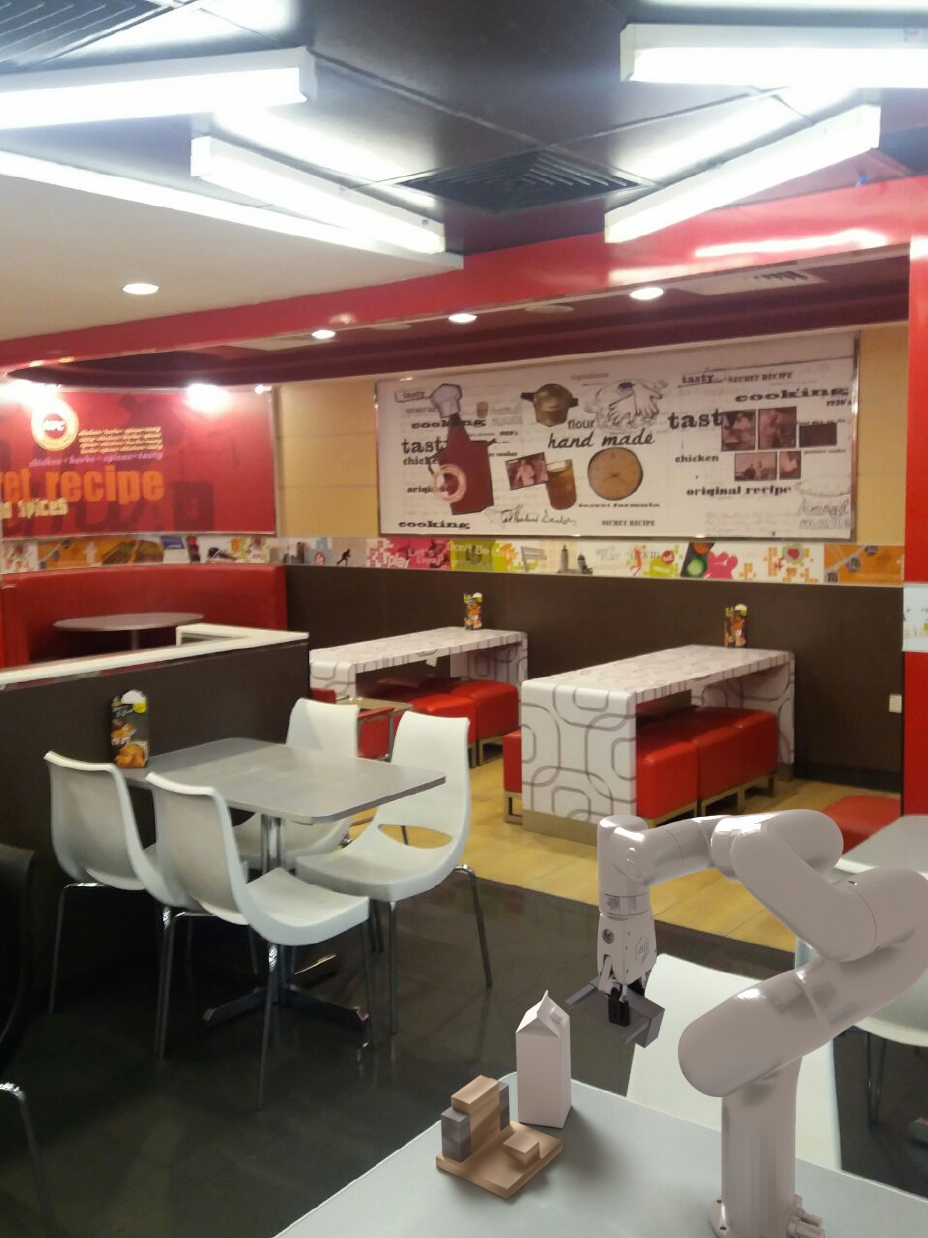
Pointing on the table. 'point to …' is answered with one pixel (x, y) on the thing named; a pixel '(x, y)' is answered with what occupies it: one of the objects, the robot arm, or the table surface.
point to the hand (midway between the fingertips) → (627, 1017)
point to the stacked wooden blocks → (491, 1140)
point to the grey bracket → (641, 1013)
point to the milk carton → (544, 1065)
